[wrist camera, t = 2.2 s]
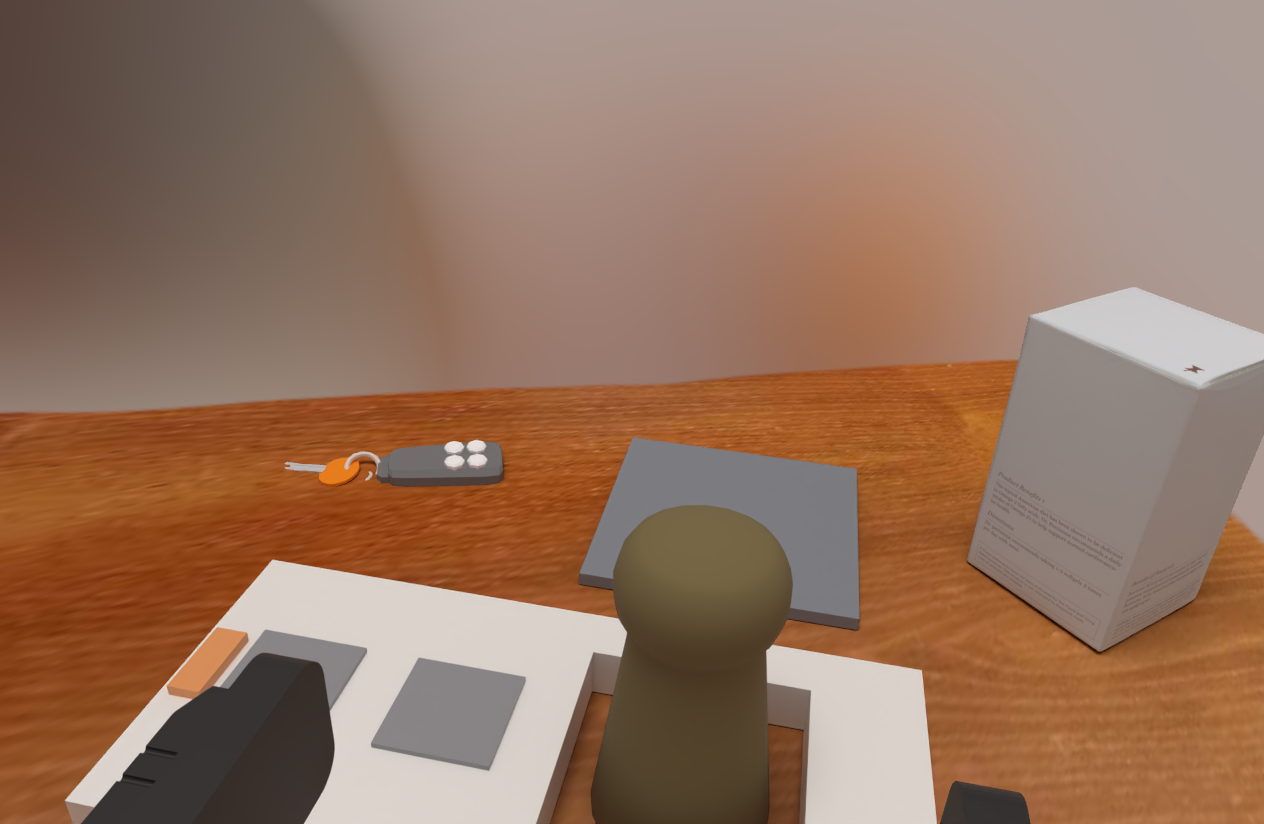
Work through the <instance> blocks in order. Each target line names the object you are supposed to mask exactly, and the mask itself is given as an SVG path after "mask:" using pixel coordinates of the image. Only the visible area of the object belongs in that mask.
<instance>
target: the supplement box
mask: <svg viewBox="0 0 1264 824" xmlns="http://www.w3.org/2000/svg"><path fill="white" fill-rule="evenodd" d="M1263 434H1264V334H1262V333H1259V332H1256V331H1254V330H1250V329H1248V328H1245V327H1242V326H1239V325H1237V324H1234V323H1231V322H1228V321H1226V320H1223V319H1220V318H1217V317H1215V316H1212V315H1209V314H1207V313H1204V312H1201V311H1198V310H1195V309H1193V308H1190V307H1187V306H1184V305H1182V304H1179V303H1176V302H1173V301H1170V300H1168V299H1165V298H1162V297H1160V296H1157V295H1154V294H1152V293H1149V292H1146V291H1144V290H1141V289H1139V288H1136V287H1132V288H1128V289H1124V290H1120V291H1116V292H1112V293H1109V294H1105V295H1102V296H1098V297H1094V298H1090V299H1087V300H1083V301H1080V302H1076V303H1073V304H1070V305H1066V306H1063V307H1059V308H1056V309H1052V310H1049V311H1045V312H1041V313H1037V314H1032V315H1030V316H1029V318H1028V322H1027V327H1026V332H1025V336H1024V341H1023V345H1022V349H1021V353H1020V357H1019V361H1018V365H1017V369H1016V372H1015V376H1014V380H1013V384H1012V388H1011V392H1010V396H1009V399H1008V403H1007V407H1006V411H1005V415H1004V418H1003V422H1002V426H1001V430H1000V433H999V437H998V441H997V445H996V449H995V452H994V456H993V460H992V464H991V468H990V472H989V475H988V479H987V483H986V487H985V491H984V494H983V498H982V502H981V506H980V510H979V514H978V519H977V523H976V527H975V531H974V535H973V539H972V543H971V547H970V550H969V554H968V558H967V561H968V562H969V563H970V564H972V565H973V566H975V567H976V568H978V569H979V570H981V571H982V572H984V573H985V574H987V575H988V576H990V577H991V578H993V579H994V580H996V581H997V582H998V583H1000V584H1001V585H1003V586H1004V587H1006V588H1007V589H1009V590H1010V591H1011V592H1013V593H1014V594H1016V595H1017V596H1019V597H1020V598H1022V599H1023V600H1025V601H1026V602H1028V603H1029V604H1030V605H1032V606H1033V607H1035V608H1036V609H1038V610H1039V611H1041V612H1042V613H1043V614H1045V615H1046V616H1048V617H1049V618H1051V619H1052V620H1054V621H1055V622H1056V623H1058V624H1059V625H1061V626H1062V627H1064V628H1065V629H1066V630H1068V631H1069V632H1071V633H1072V634H1074V635H1075V636H1077V637H1078V638H1080V639H1081V640H1083V641H1084V642H1085V643H1087V644H1088V645H1090V646H1091V647H1093V648H1094V649H1096V650H1097V651H1099V652H1101V651H1103V650H1105V649H1107V648H1109V647H1111V646H1112V645H1114V644H1116V643H1118V642H1120V641H1122V640H1124V639H1125V638H1127V637H1129V636H1131V635H1132V634H1134V633H1136V632H1138V631H1140V630H1142V629H1143V628H1145V627H1147V626H1149V625H1151V624H1152V623H1154V622H1156V621H1158V620H1160V619H1161V618H1163V617H1165V616H1167V615H1169V614H1170V613H1172V612H1174V611H1175V610H1177V609H1179V608H1181V607H1183V606H1184V605H1186V604H1187V603H1189V602H1190V601H1192V600H1193V599H1195V598H1196V596H1197V594H1198V591H1199V589H1200V587H1201V584H1202V581H1203V579H1204V576H1205V574H1206V571H1207V569H1208V566H1209V564H1210V562H1211V559H1212V557H1213V555H1214V552H1215V550H1216V547H1217V545H1218V543H1219V540H1220V538H1221V535H1222V533H1223V531H1224V528H1225V525H1226V523H1227V521H1228V518H1229V516H1230V513H1231V511H1232V509H1233V506H1234V504H1235V501H1236V499H1237V497H1238V494H1239V491H1240V489H1241V487H1242V484H1243V482H1244V480H1245V477H1246V475H1247V473H1248V470H1249V468H1250V466H1251V463H1252V461H1253V459H1254V456H1255V453H1256V451H1257V449H1258V446H1259V444H1260V442H1261V439H1262V437H1263Z"/></svg>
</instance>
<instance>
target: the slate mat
mask: <svg viewBox="0 0 1264 824" xmlns="http://www.w3.org/2000/svg"><path fill="white" fill-rule="evenodd" d="M682 505H709V506H715V507H721V508H727V509H730V510H733V511H736V512H739V513H741V514H744V515H747V516H749V517H751V518H752V519H754V520H756V521H757V522H759V523H760V524H762V525H764V526H765V527H766V528H767V529H768V530H769V531H770V532H771V533H772V534H773V535H774V537H775V538H776V539H777V540H778V541H779V543H780V545H781V547H782V548H783V550H784V552H785V554H786V557H787V559H788V562H789V565H790V567H791V572H792V579H793V590H792V598H791V605H790V610H789V615H788V619H793V620H799V621H805V622H811V623H817V624H823V625H829V626H835V627H841V628H847V629H853V630H857V628H858V623H859V571H858V517H857V469H854V468H847V467H840V466H833V465H826V464H819V463H811V462H804V461H797V460H790V459H783V458H776V457H769V456H762V455H755V454H748V453H740V452H733V451H726V450H719V449H712V448H705V447H698V446H691V445H684V444H676V443H669V442H662V441H655V440H648V439H641V438H634V437H633V439H632V441H631V444H630V446H629V449H628V451H627V454H626V456H625V459H624V461H623V464H622V467H621V469H620V472H619V474H618V477H617V479H616V482H615V484H614V487H613V489H612V492H611V495H610V497H609V500H608V502H607V505H606V507H605V510H604V512H603V515H602V517H601V520H600V522H599V525H598V528H597V530H596V533H595V535H594V538H593V540H592V543H591V545H590V548H589V550H588V553H587V556H586V558H585V561H584V563H583V566H582V568H581V571H580V574H579V584H582V585H588V586H594V587H600V588H606V589H612V590H613V569H614V567H615V564H616V561H617V558H618V555H619V553H620V550H621V548H622V545H623V543H624V540H625V539H626V538H627V537H628V535H629V534H630V533H631V532H632V531H633V530H634V529H635V528H636V527H637V526H638V525H639V524H640V523H641V522H642V521H643V520H644V519H645V518H647V517H649V516H651V515H653V514H655V513H657V512H659V511H661V510H663V509H668V508H673V507H678V506H682Z"/></svg>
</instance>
